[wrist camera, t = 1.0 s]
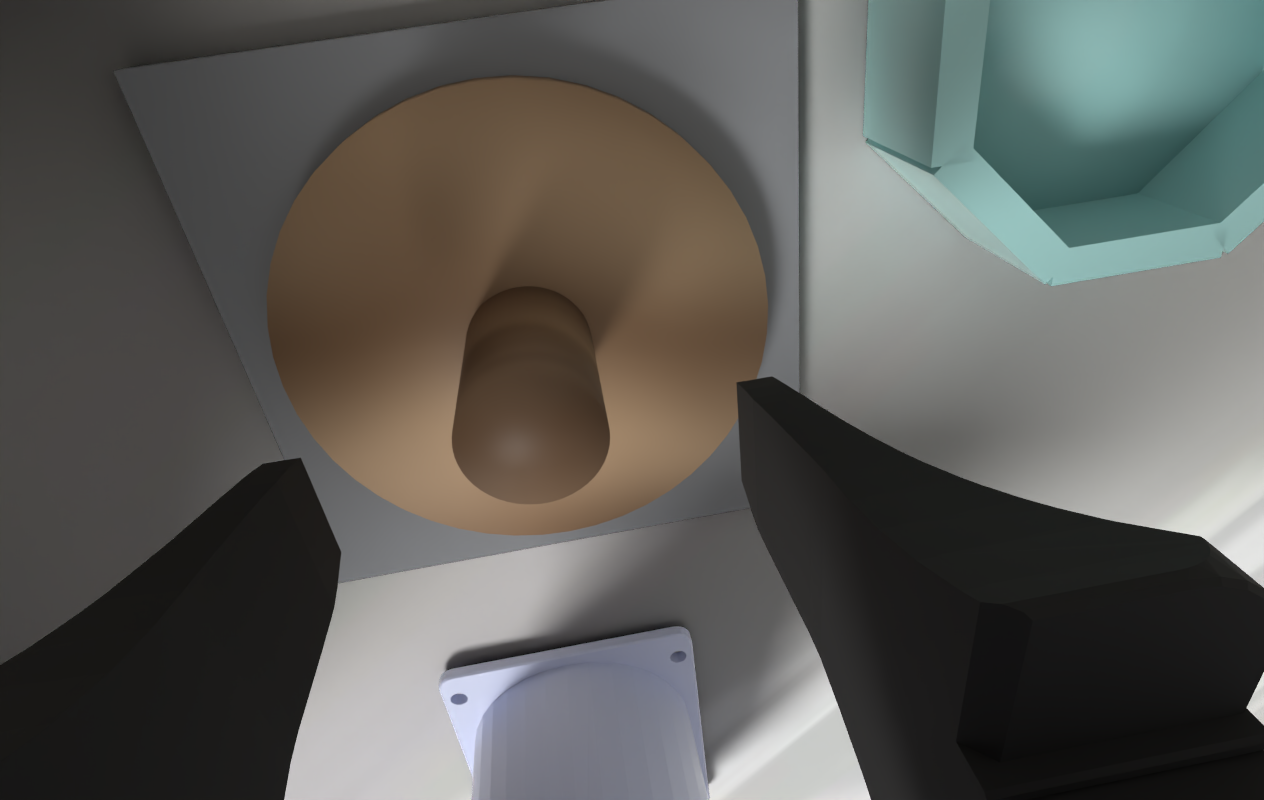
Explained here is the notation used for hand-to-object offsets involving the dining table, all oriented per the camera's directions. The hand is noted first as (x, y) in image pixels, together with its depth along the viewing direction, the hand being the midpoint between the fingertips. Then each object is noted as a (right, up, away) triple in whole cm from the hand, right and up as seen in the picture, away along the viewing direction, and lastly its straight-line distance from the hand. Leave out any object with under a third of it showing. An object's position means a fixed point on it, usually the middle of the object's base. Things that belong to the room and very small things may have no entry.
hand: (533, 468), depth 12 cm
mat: (-1, +3, +6) cm, 6 cm away
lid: (-1, +3, +5) cm, 6 cm away
